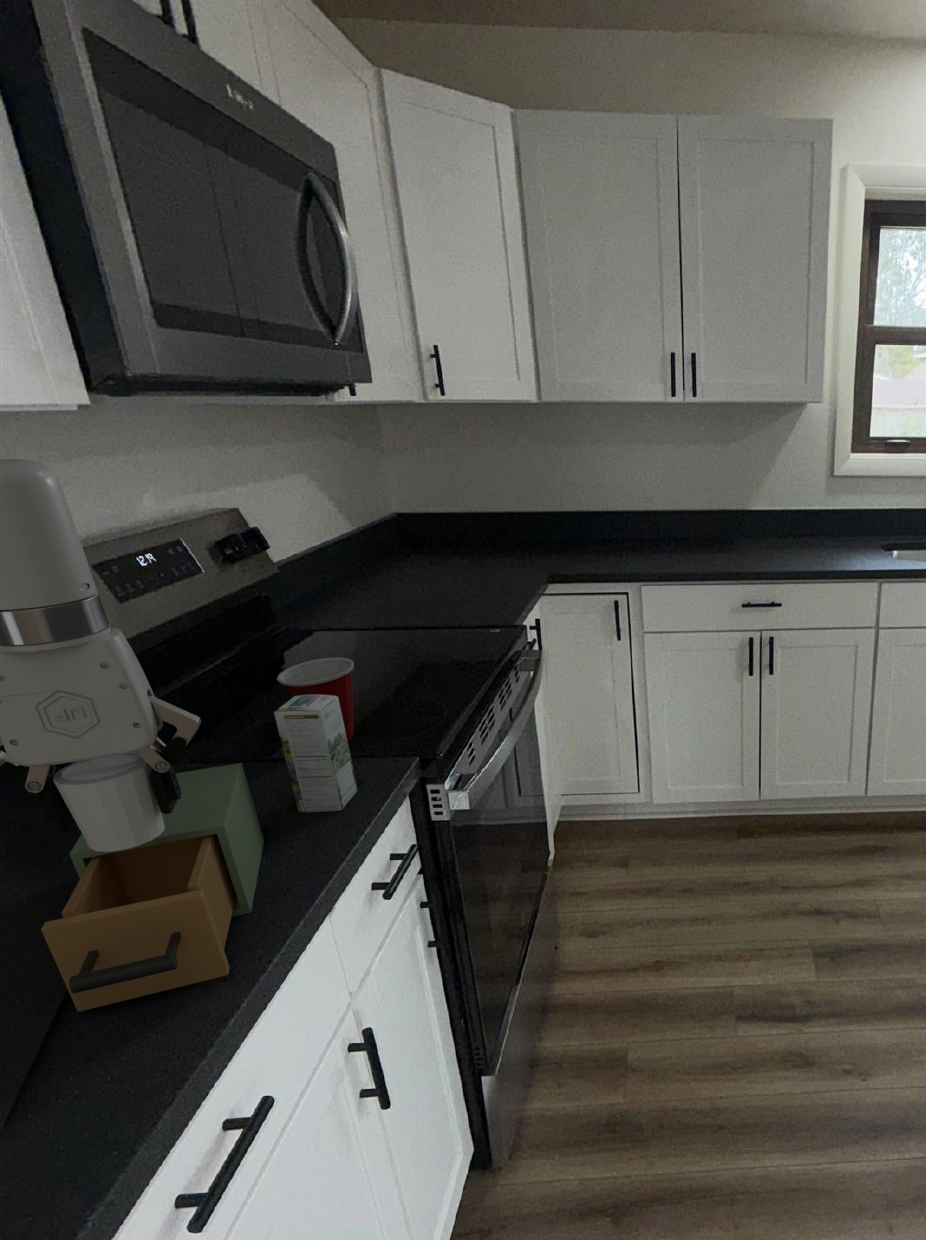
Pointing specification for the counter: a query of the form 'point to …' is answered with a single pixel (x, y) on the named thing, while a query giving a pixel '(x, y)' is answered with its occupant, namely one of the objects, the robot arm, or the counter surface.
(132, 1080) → the counter surface
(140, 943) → the drawer
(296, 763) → the syrup box
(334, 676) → the plastic cup
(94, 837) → the white cup
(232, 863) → the cabinet
